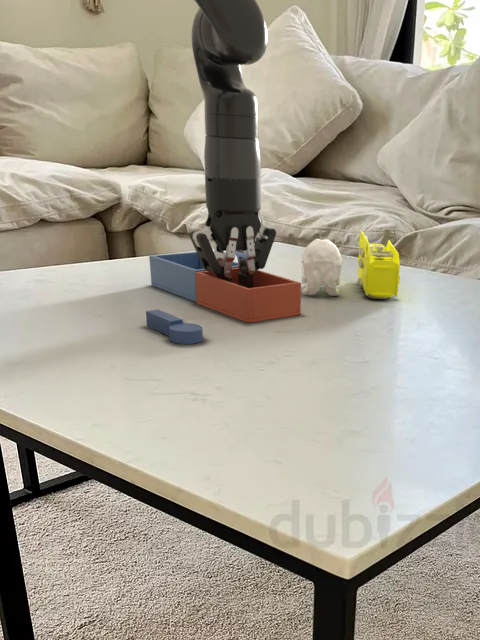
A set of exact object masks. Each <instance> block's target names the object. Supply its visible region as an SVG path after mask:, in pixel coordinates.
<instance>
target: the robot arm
mask: <svg viewBox="0 0 480 640" xmlns="http://www.w3.org/2000/svg"><path fill="white" fill-rule="evenodd" d="M193 1H194V2H195V4H196V5H197V6H198V9H197V11H196V12H195V15H194V17H193V20H192V26H191V35H190V36H191V37H190V38H191V48H192V49H191V50H192V54H193V60H194V64H195V68H196V73H197V78H198V81H199V86H200V89H201V92H202V96H203V99H204V100H203V101H204V132H205V133H204V134H205V137H204V148H203V149H204V150H203V151H204V152H203V161H204V184H205V186H204V187H205V206H206V209H207V213H208V214H207V219H206V221H205V226H204V227H203V228H201V229H199V230H197V231H195V230H192V231H191V232H190V233H189V239H190V241H191V243H192V245H193V248H194V250H195V252H197V254H198V256H199V258H200V261H201V263H202V265H203V267H204V269H205V270H206V271H209V272H212V273H215V274H216V275H217V278H219V279H222V280H225V281H228V282H231V283H233V280H232V277H230V276H231V271H232V262H233V261H234V262H235V258H237V263H238V266H239V270H240V271H241V273H238V283H239V285H240V286H243V287H246V288H253V275H254V273H255V271H257V270H264V268H265V267H266V265H267V261H268V258H269V256H270V253H271V250H272V247H273V245H274V242H275V239H276V236H277V230H276V229H275V228H271V227H267V226H265V225H263V224H262V220H261V218H260V215H259V211H260V210H261V208H262V188H261V187H262V186H261V185H262V183H261V181H262V180H261V179H262V177H261V176H262V175H261V173H262V172H261V171H262V170H261V169H262V167H261V165H262V163H261V150H260V143H259V140H260V139H259V102H258V98H257V96H256V94H255V92H254V91H252V90H251V89H249V88H248V87H246V85H245V84H244V78H243V73H242V66H249V65H253V64H255V63H257V62H259V61H260V60H261V59H262V58H263V56H264V55H265V53H266V51H267V47H268V41H269V35H268V26H267V23H266V19H265V16H264V14H263V11H262V9H261V7H260V5H259V4H258V1H257V0H193ZM212 240H213V241H214V246H213V247H214V248H212V245H211V244H212V243H213V241H212ZM213 249H214V250H213Z"/></svg>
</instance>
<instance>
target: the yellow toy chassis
mask: <svg viewBox="0 0 480 640" xmlns="http://www.w3.org/2000/svg"><path fill="white" fill-rule="evenodd" d="M358 244H359V245H358V257H357V265H358V266H357V276H358V277H357V286H358V289H360V290H362V289H363V291H364V293H365V295H366V296H367V297H368V298H370V299H374V300H385V299H387V298H392V297H394V296H395V297H397V298H398V296H399V295H398V292H399V284H400V281H401V277H400V267H401V266H400V265H401V263H400V262H401V261H400V253H399V252H398V250H397V249H396V247H394V245H393V244H392V242H391V240H388V241H387V243H386V246H385V245H383V244H382V243H370V242H369V237H368V236H367V235H365V233H364V231H362V230H361V231H360V234H359V242H358Z"/></svg>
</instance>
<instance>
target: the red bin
mask: <svg viewBox="0 0 480 640" xmlns="http://www.w3.org/2000/svg"><path fill="white" fill-rule="evenodd" d="M238 273H241V271H240V270H239V268H232V271H231V276H230V277H232V280H233V283H231V282H228V281H225V280H222V279H219V278H217V275H216V274H215V273H212V272H209V271H201V272H195V277H196V298H197V302H196V304H197V305H199V306H203V307H205V308H208V309H211V310H212V311H216V312H218V313H221V314H224V315H227V316H228V317H232V318H234V319H237V320H240V321H243V322H245V323H248V324H249V323H257V322H262V321H268V320H275V319H280V318H286V317H293V316H299V315H301V313H302V312H301V311H302V309H301V307H302V306H301V305H302V282H301V281H295V280H294V279H290V278H288V277H287V278H286V277H284V276H280V275H276V274H274V273H271V272H267V271H263V270H261V269H258V270H257V271H255V273H254V275H253V288H246V287H243V286H240V285H239V283H238Z"/></svg>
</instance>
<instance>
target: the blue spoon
mask: <svg viewBox="0 0 480 640" xmlns="http://www.w3.org/2000/svg"><path fill="white" fill-rule="evenodd" d="M145 317H146V326H147V327H148V328H151V329H152V330H155V331H157V332H159V333H162V334H165V335H166V336H168V337H169V341H170V342H172V343H175V344H179V345H195V344H199V343H201V342H203V340H204V333H203V330H204V329H203V326H202V325H200V324H198V323H192V322H184V319H183V318H180V317H178V316H176V315H173V314H170V313H168V312H166V311H163V310H160V309H150V310H145Z"/></svg>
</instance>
